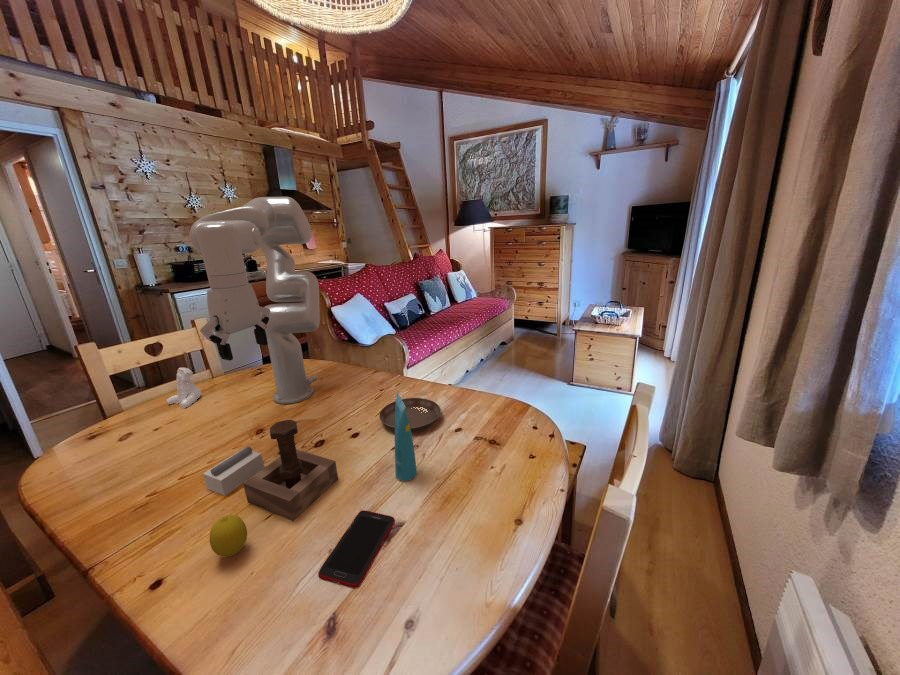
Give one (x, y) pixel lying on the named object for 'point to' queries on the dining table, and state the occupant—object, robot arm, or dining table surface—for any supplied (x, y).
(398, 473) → the tube
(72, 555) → the dining table surface
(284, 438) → the bolt
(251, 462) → the pin mount
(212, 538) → the lemon
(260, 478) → the socket
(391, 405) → the plant saucer
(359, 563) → the cell phone
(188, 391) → the seated beast figurine
